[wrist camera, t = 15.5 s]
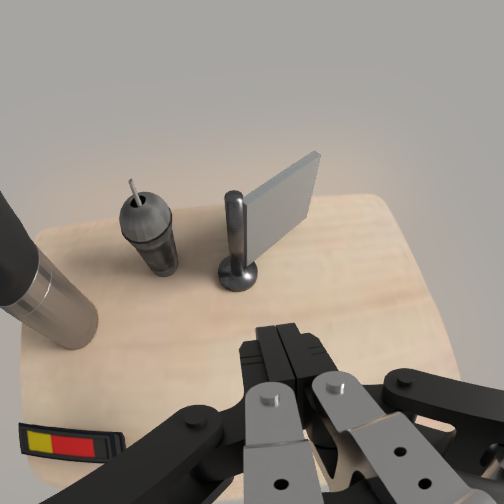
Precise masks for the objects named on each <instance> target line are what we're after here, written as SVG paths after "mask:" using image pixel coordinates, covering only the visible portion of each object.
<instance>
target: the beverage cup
mask: <svg viewBox="0 0 504 504" xmlns="http://www.w3.org/2000/svg"><path fill="white" fill-rule="evenodd" d="M128 181H129V184H130V187H131V190H132V192H133V195H132V196H131V197H130V198H128V199H127V201H125V203H124V204H123V206H122V208H121V211H120V217H119V221H120V226H121V231H122V235H123V236H124V237H125V239H126V240H128V241H129V242H130V243H131V244H132V245H133V246H134V247H135V248H136V250H137V251H138V252H139V254H140V255H141V256H142V258H143V259H144V260H145V262H146V263H147V265H148V266H149V267H150V268H151V270H152V271H153V272H154V273H155V274H156V275H158V276H160V277H167V276H170V275H172V274H173V273H174V272H175V271H176V270H177V267H178V256H177V251H176V246H175V241H174V237H173V231H172V213H171V210H170V208H169V207H168V206H167V204H166V202H165V201H164V200H163V199H162V198H161V197H159V196H158V195H156V194H153V193H150V192H140V193H137V191H136V188H135V185H134V182H133V180H132V179H129V180H128Z"/></svg>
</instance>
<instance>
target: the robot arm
mask: <svg viewBox="0 0 504 504" xmlns="http://www.w3.org/2000/svg"><path fill="white" fill-rule="evenodd" d="M0 308H2V309H3V310H5V311H6V312H7V313H9V314H11V315H12V316H13V317H15V318H17V319H18V320H20V321H21V322H23V323H24V324H26V325H27V326H29V327H30V328H32V329H34V330H35V331H37V332H38V333H40V334H42V335H43V336H45V337H47V338H48V339H50V340H52V341H53V342H55V343H57V344H59V345H61V346H62V347H64V348H66V349H70V350H76V349H80V348H82V347H84V346H85V345H87V344H88V343H89V342H90V341H91V339H92V338H93V336H94V334H95V332H96V329H97V325H98V315H97V311H96V309H95V307H94V305H93V304H92V303H91V302H90V301H89V300H88V299H87V298H86V297H85V296H84V295H83V294H82V293H81V292H80V291H79V290H78V289H77V288H76V287H75V286H74V285H73V284H72V283H71V282H70V281H69V280H68V279H67V278H66V277H65V276H64V275H63V274H62V273H61V272H60V271H59V270H58V269H57V268H56V267H55V266H54V265H53V263H52V262H51V261H50V260H49V259H48V258H47V257H46V256H45V255H44V254H43V253H42V252H41V250H40V249H39V248H38V247H37V246H36V245H35V244H34V242H33V241H32V240H31V239H30V237H29V236H28V234H27V232H26V230H25V228H24V227H23V225H22V223H21V221H20V220H19V218H18V217H17V216H16V214H15V213H14V211H13V210H12V209H11V207H10V206H9V204H8V203H7V201H6V199H5V198H4V196H3V195H2V193H1V191H0ZM239 353H240V361H241V369H242V377H243V385H244V396H243V398H242V399H241V401H240V402H239V403H238V404H236V405H235V406H233V407H232V408H229V409H227V410H224V411H221V412H218V411H217V410H216V409H214V408H212V407H210V406H206V405H192V406H187V407H185V408H182V409H180V410H179V411H177V412H176V413H175V414H173V415H172V416H171V417H169V418H168V419H167V420H166V421H164V422H163V423H162V424H160V425H159V426H158V427H156V428H155V429H153V430H152V431H151V432H149V433H148V434H147V435H145V436H144V437H143V438H141V439H140V440H138V441H137V442H136V443H134V444H133V445H131V446H130V447H128V448H127V449H126V450H124V451H123V452H121V453H120V454H118V455H117V456H115V457H114V458H112V459H111V460H110V461H108V462H107V463H105V464H104V465H102V466H100V467H99V468H97V469H96V470H94V471H93V472H91V473H90V474H88V475H87V476H85V477H83V478H82V479H80V480H79V481H77V482H75V483H74V484H72V485H70V486H69V487H67V488H65V489H64V490H62V491H60V492H59V493H57V494H55V495H54V496H52V497H50V498H48V499H47V500H45V501H43V502H41V503H39V504H212V503H213V502H214V501H215V500H216V499H217V498H218V497H219V496H220V495H221V494H222V492H223V491H224V490H225V489H226V488H227V487H228V486H229V485H230V484H231V483H232V481H233V479H234V476H235V475H238V474H241V473H244V504H504V391H503V390H498V389H493V388H488V387H484V386H479V385H474V384H470V383H466V382H461V381H457V380H453V379H449V378H445V377H441V376H437V375H433V374H429V373H425V372H421V371H417V370H414V369H408V368H401V369H396V370H393V371H391V372H389V373H388V374H387V375H386V376H385V379H384V383H383V384H378V385H361V384H360V382H359V381H358V380H357V379H356V378H355V377H354V376H353V375H351V374H349V373H346V372H342V371H338V369H337V367H336V366H335V364H334V362H333V361H332V359H331V358H330V356H329V354H328V353H327V351H326V350H325V348H324V347H323V345H322V343H321V342H320V340H319V338H317V337H316V336H314V335H312V334H311V333H305V334H300V332H299V330H298V328H297V326H296V324H295V323H288V324H281V325H276V326H274V325H273V326H265V327H257V328H256V340H253V341H245V342H243V344H242V345H241V347H240V348H239ZM417 415H419V416H423V417H426V418H430V419H433V420H437V421H440V422H444V423H448V424H451V425H452V426H454V427H455V430H453V431H451V432H444V431H440V430H436V429H433V428H429V427H426V426H423V425H419V424H416V423H415V421H416V418H417ZM304 429H306V431H307V434H308V437H309V439H310V440H308V439H305V438H304V434H303V430H304ZM312 452H313V454H314V457H315V459H316V461H317V463H318V465H319V467H320V469H321V471H322V473H323V476H324V478H325V480H326V482H327V484H328V486H329V490H330V492H324V493H321V488H320V484H319V480H318V475H317V471H316V467H315V463H314V458H313V454H312Z"/></svg>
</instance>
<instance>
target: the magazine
mask: <svg viewBox="0 0 504 504" xmlns="http://www.w3.org/2000/svg"><path fill="white" fill-rule="evenodd" d="M19 439H20V448H21V453H22V454H25V455H31V456H37V457H43V458H50V459H57V460H65V461H75V462H88V463H107V462H108V461H110V460H111V459H112V458H114V457H115V456H117V455H118V454H120V453H121V452H123V451H124V450H126V445H125V438H124V435H123V433H122V432H102V431H87V430H75V429H66V428H57V427H46V426H39V425H33V424H32V425H30V424H24V423H19Z"/></svg>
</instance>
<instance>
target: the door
mask: <svg viewBox="0 0 504 504" xmlns="http://www.w3.org/2000/svg"><path fill="white" fill-rule="evenodd" d="M320 157H321V155H320V154H319V153H317V152H316V151H313V152H311V153H310V154H308V155H307V156H305V157H304V158H302V159H301V160H299V161H298V162H296V163H294V164H293V165H291V166H290V167H288V168H287V169H285V170H284V171H282V172H281V173H279V174H278V175H276V176H275V177H273V178H272V179H270V180H269V181H267V182H266V183H264V184H263V185H261V186H260V187H258V188H257V189H255V190H254V191H252V192H251V193H249V194H248V195H246V196H245V197H243V226H244V264H245V265H246V266H248V265H250V264H251V263H252V262H253V261H255V260H256V259H257V258H258V257H259V256H261V255H262V254H263V253H264V252H265V251H267V250H268V249H269V248H270V247H271V246H273V245H274V244H275V243H276V242H277V241H279V240H280V239H281V238H282V237H284V236H285V235H286V234H287V233H288V232H290V231H291V230H292V229H293V228H294V227H296V226H297V225H298V224H299V223H300V222H302V221H303V220H304V219H305V218H306V217H307V213H308V209H309V205H310V201H311V196H312V192H313V188H314V183H315V179H316V175H317V170H318V166H319V162H320Z"/></svg>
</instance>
